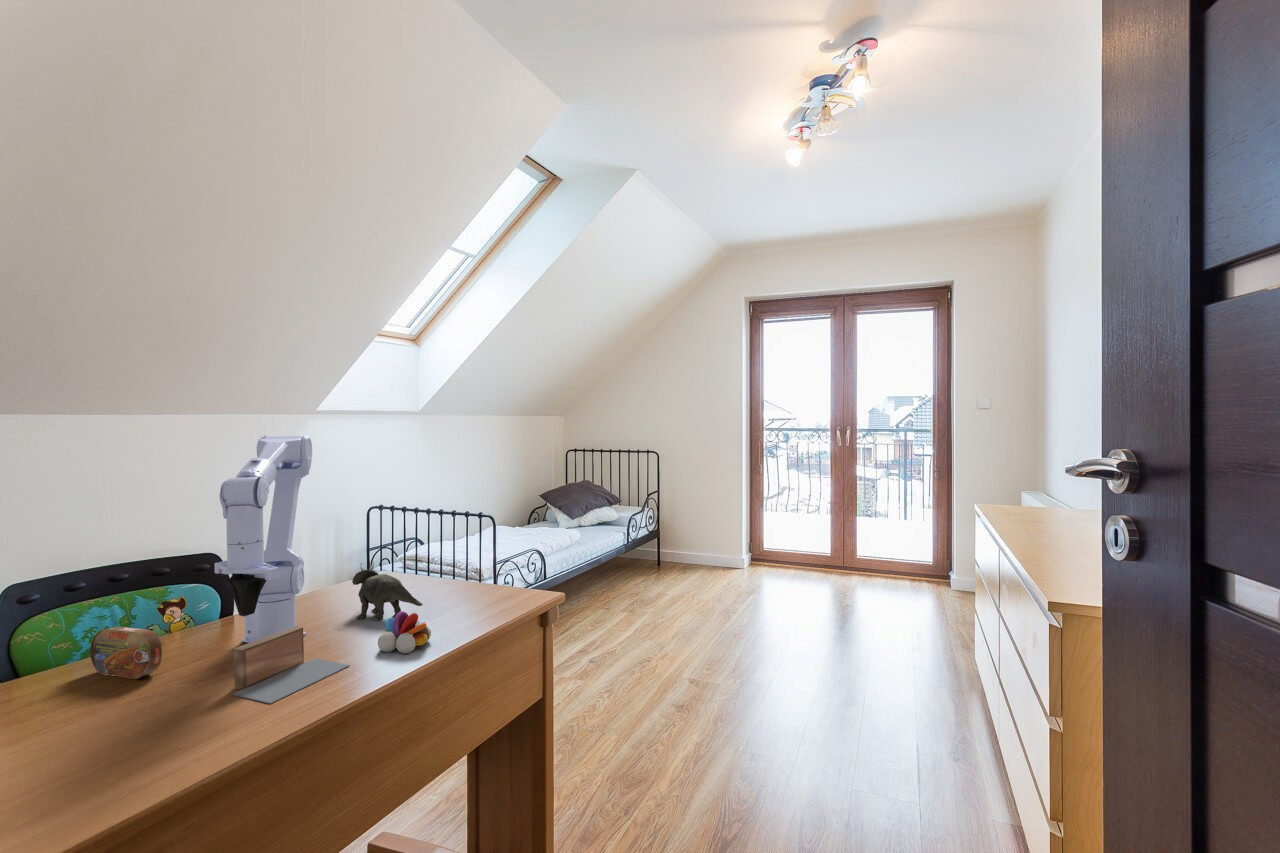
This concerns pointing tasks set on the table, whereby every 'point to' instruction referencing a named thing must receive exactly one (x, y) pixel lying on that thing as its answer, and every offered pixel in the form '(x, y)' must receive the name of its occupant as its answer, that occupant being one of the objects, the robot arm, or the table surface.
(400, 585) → the dinosaur figurine
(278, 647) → the wooden block
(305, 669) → the felt mat
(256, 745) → the table surface
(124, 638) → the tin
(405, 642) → the rainbow petal rattle
